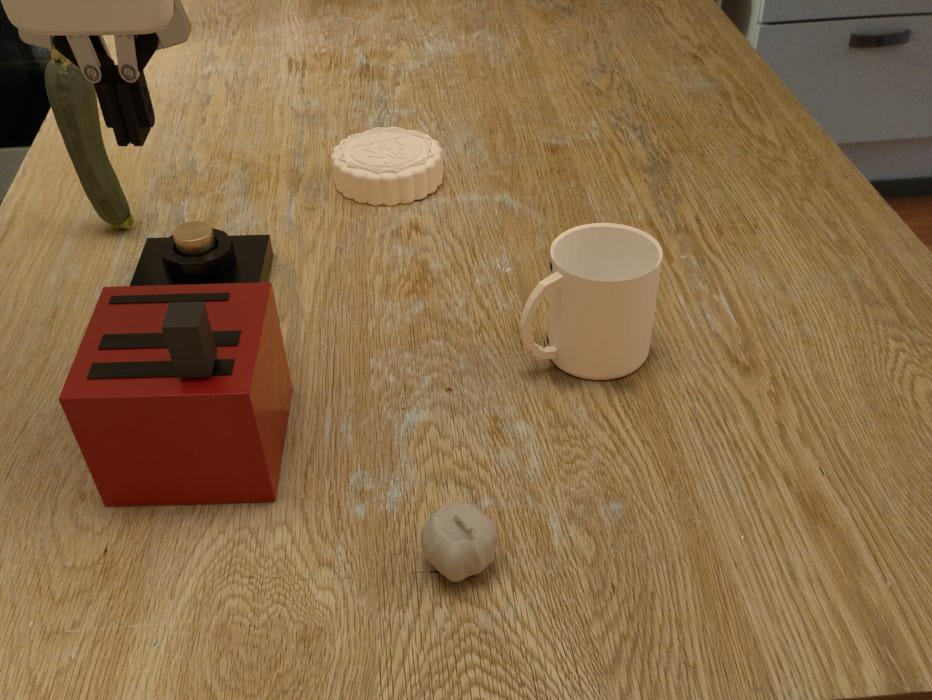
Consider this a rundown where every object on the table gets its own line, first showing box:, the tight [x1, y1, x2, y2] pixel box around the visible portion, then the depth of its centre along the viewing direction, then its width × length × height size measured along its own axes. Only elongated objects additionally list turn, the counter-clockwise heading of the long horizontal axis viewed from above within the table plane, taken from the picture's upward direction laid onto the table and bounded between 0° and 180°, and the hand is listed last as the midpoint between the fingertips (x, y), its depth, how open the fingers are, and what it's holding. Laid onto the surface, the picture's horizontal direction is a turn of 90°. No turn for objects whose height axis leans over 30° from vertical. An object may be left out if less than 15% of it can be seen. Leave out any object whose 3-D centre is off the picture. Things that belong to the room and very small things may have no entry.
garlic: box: [420, 501, 499, 583], centre depth 67 cm, size 6×5×5 cm
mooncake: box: [330, 125, 444, 207], centre depth 104 cm, size 12×12×4 cm
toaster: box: [58, 281, 294, 508], centre depth 74 cm, size 13×14×10 cm
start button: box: [172, 220, 216, 257], centre depth 89 cm, size 4×4×2 cm
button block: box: [129, 227, 275, 286], centre depth 91 cm, size 12×10×4 cm
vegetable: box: [44, 49, 135, 230], centre depth 92 cm, size 4×4×20 cm
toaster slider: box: [161, 301, 217, 378], centre depth 65 cm, size 2×3×4 cm
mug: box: [519, 222, 664, 381], centre depth 81 cm, size 12×9×9 cm
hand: (135, 137), depth 66 cm, fingers closed
